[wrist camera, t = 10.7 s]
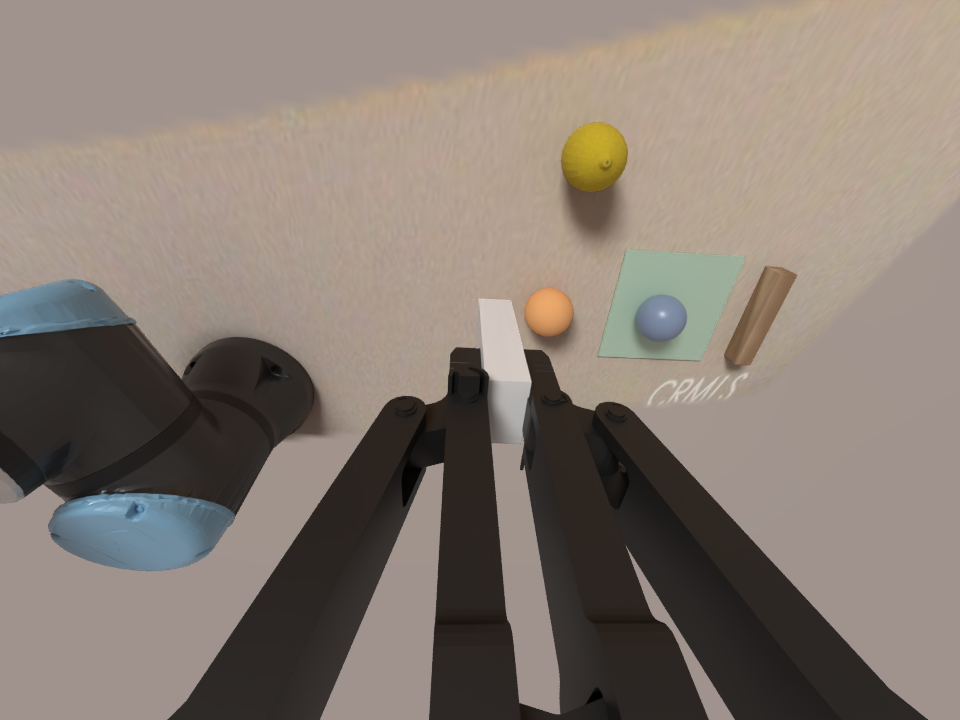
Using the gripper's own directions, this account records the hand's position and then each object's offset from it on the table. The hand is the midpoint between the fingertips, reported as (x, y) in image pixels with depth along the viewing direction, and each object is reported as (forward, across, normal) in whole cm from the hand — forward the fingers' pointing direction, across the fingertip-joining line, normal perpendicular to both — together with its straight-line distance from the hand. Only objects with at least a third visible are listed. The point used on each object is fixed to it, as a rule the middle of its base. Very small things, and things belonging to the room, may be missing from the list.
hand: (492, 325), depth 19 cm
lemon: (+27, +10, +6) cm, 29 cm away
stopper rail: (+26, +35, -10) cm, 45 cm away
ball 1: (+24, +9, -10) cm, 27 cm away
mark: (+26, +24, -10) cm, 37 cm away
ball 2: (+24, +22, -10) cm, 34 cm away
